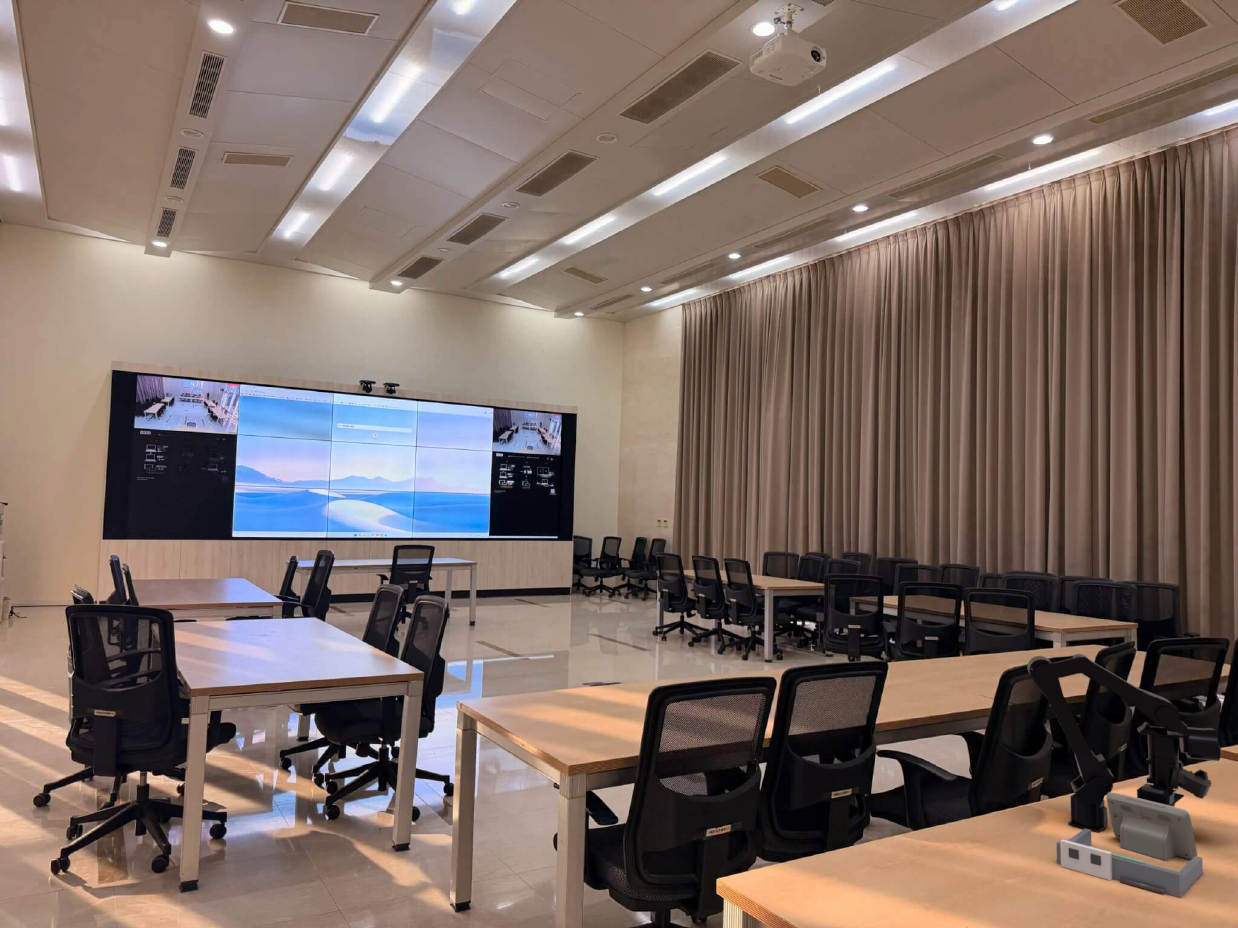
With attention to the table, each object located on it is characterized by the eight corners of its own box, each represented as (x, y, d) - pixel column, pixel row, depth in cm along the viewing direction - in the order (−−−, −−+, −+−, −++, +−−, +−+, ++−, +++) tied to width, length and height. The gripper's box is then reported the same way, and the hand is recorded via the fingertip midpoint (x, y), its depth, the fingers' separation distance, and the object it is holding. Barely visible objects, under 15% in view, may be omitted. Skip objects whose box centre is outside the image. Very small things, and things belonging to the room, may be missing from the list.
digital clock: (1203, 861, 172) (1200, 808, 173) (1175, 868, 169) (1173, 813, 169) (1126, 834, 187) (1124, 785, 188) (1099, 840, 183) (1098, 790, 184)
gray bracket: (1054, 864, 169) (1053, 839, 170) (1085, 842, 182) (1084, 818, 182) (1177, 899, 154) (1176, 871, 154) (1202, 872, 166) (1201, 846, 166)
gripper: (1195, 771, 176) (1198, 847, 174) (1216, 755, 188) (1219, 826, 187) (1135, 760, 184) (1137, 833, 182) (1159, 745, 196) (1162, 814, 195)
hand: (1166, 826), depth 187 cm, fingers closed
